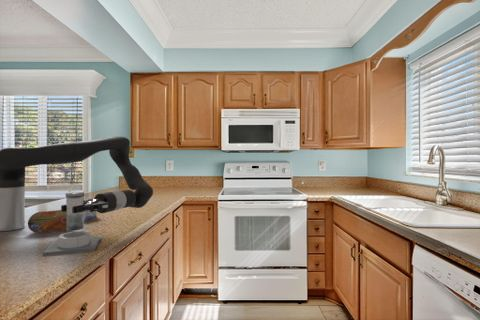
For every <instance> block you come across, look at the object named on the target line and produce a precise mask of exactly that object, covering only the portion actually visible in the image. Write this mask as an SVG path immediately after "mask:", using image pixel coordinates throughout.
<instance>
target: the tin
mask: <svg viewBox="0 0 480 320" xmlns="http://www.w3.org/2000/svg"><path fill="white" fill-rule="evenodd" d="M27 226H28V229H29V230H30V231H31V232H33V233H35V234H46V233H55V232H56V233H57V232H64V231H68V230H67V222H66V211H65V212H62V211H61V209H57V210H45V211H39V212H38V211H37V212H36V213H33V214H32V215H31V216H30V217H29V218H28V220H27Z"/></svg>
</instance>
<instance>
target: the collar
mask: <svg viewBox="0 0 480 320" xmlns="http://www.w3.org/2000/svg"><path fill="white" fill-rule="evenodd" d="M100 241H101V235H99V236H98V235H97V236H91V232H90V231H86V230H75V231H69V232H65V233H60V234H59V235H58V236H57V238H56V239H55V240H54V241H53V242H52V243H51V244H50V245H49V246H48V247H46V249H45V250H44V251H43V252H42V256H44V257H45V256H53V255H54V256H56V255H67V254H78V253H89V252H95V251H96V248H97V247H98V245H99V243H100Z"/></svg>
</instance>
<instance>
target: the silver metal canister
mask: <svg viewBox="0 0 480 320" xmlns="http://www.w3.org/2000/svg"><path fill="white" fill-rule="evenodd" d="M84 198H85V192H84V191H72V192H66V193H65V199H66V200H65V201H66V203H65V205H66V222H67V230H66V231H69V232H74V231H82V230H83V229H84V228H85V222H84V212H79V213H73V212H72V207H73V206H79V205H84V200H85V199H84Z"/></svg>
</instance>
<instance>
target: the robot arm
mask: <svg viewBox="0 0 480 320" xmlns="http://www.w3.org/2000/svg"><path fill="white" fill-rule="evenodd" d="M130 146H131V141H130V139H129V138H127V137H125V136H121V135H119V136H112V137H105V138H99V139H92V140H85V141H84V140H82V141H70V142H68V141H67V142H59V143H55V144H53V143H52V144H48V145H43V146H38V147H4V148H1V149H0V232H8V231H9V232H11V231H16V230H20V229H23V228H25V227H26V226H25V225H26V224H25V222H26V220H25V217H26V214H25V211H26V210H25V206H26V204H25V203H26V202H25V200H26V199H25V198H26V197H25V196H26V195H25V194H26V187H25V186H26V185H25V184H26V168H27V167H33V166H40V165H63V164H73V163H80V162H83V161H85V160H86V159H88V158H90V157H92V156H94V155H96V154H97V153H100V152H104V151H108V153H109V156H110V157H111V160H112V161H113V162H114V163H115V165H116V166H117V168H118V169H119V171H120V172H121V173H122V176H123V178H124V180H125V183H126V185H127V187H128V188H129V189H123V190H113V191H112V190H111V191H105V192H104V191H103V192H99V193H97V194H96V195H95V196H94V198H87V199H84V205H79V206H73V207H72V212H73V213H79V212H84V211H85V212H95V211H96V213H99V214H106V213H110V212H111V213H112V212H115V211H116V212H117V211H119V210H121V209H125V208H135V209H140V208H143V207H145V206H146V205H147V203H148V202H149V201H150V199H151V198H152V197H153V195H154V189H153V187H152V185H150V184H149V183H148V182H147V181H146V180H145V179H144V178H143V176H142V175H141V173H140V171H139V169H138V168H137V167H136V166H135V165H134V164H132V163H131V160H130V150H131V149H130ZM60 210H61V211H62V212H65V211H66V204H62V205H61V207H60Z"/></svg>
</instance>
